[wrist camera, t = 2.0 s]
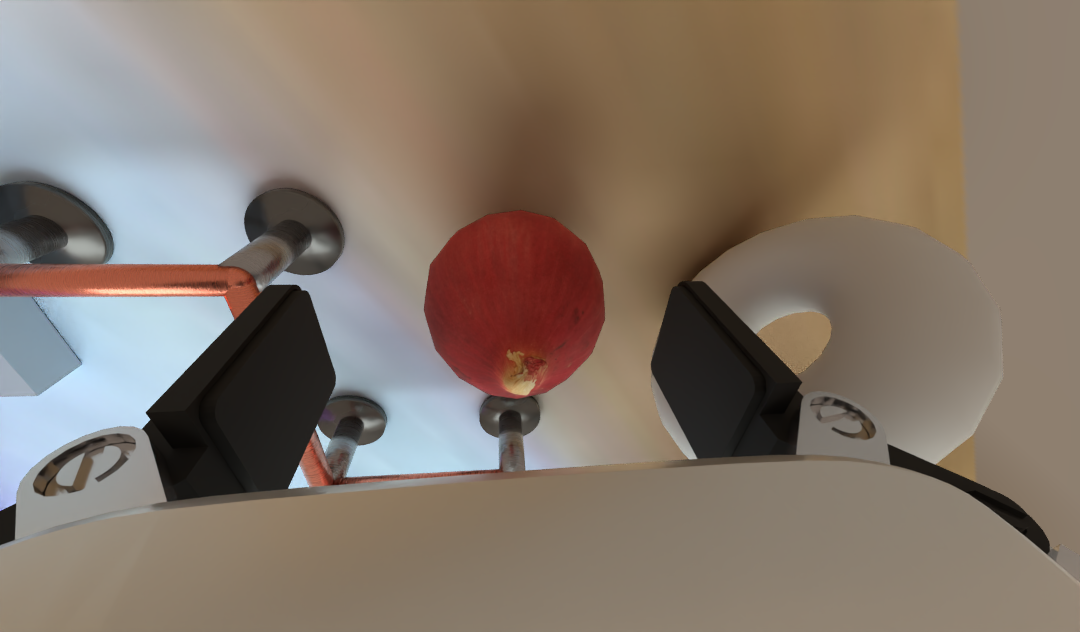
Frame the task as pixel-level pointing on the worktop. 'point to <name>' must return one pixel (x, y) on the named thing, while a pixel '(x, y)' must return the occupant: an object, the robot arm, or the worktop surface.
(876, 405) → the donut
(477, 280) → the onion
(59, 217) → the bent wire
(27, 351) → the dish
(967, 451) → the worktop surface
